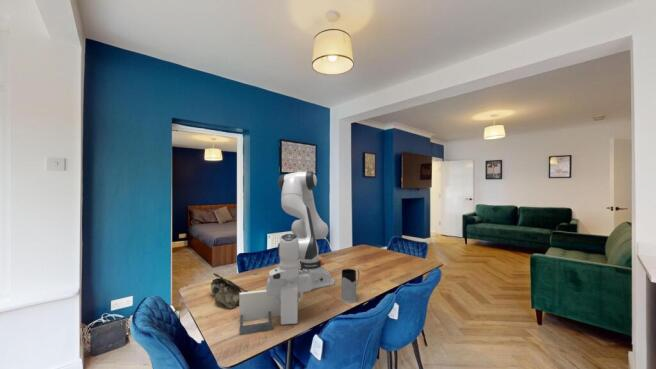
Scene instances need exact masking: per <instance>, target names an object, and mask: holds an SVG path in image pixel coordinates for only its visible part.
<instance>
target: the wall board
mask: <svg viewBox="0 0 656 369" xmlns="http://www.w3.org/2000/svg"><path fill="white" fill-rule="evenodd" d="M241 292H242V293H239V303H238V305H239V306H238V307H239V309H238V311H239V312H238V314H239V316H238V317H239V319H238V320H239V323H240V316H241V315H243V322H247V321H248V322H249V321H253V320H260V319H261V320H262V319H268V312H269V311H271V316H272V318H276V317H281V304H280V305H278V300H277V299H276V296H275V295H274V296H268V295H267V294H266V289H262V290H254V291H253V290H252V291H248V292H244V291H241ZM297 294H298V295H299V292H298V293H297ZM278 298H279V299H281V295H279V297H278Z"/></svg>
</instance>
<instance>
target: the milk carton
mask: <svg viewBox="0 0 656 369" xmlns="http://www.w3.org/2000/svg"><path fill="white" fill-rule="evenodd" d="M298 295H299V293H298V294H297V282H294V283H291V282H287V284H286V286H283V287H281V316H280V325H295V324H298V318H299V317H298V315H299V314H298V308H299V307H298V306H299V305H298V304H299V302H297V297H299V296H298Z"/></svg>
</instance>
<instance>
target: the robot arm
mask: <svg viewBox="0 0 656 369" xmlns="http://www.w3.org/2000/svg"><path fill="white" fill-rule="evenodd" d="M317 182H318V179H317V176H316V173H315V172H313V171H311V170H310V171H309V170H307V171H295V172H291V173H287V174H286V173H285V174H281V175H280V176H279V177H278V180H277V185H278V188H279V191H281V196H280V197H281V198H280V200H281V201H280V202H281V203H280V204H281V208H282V210H283V211H284V212H285V213H286V214H288V215H290V216H293V217H295V218H298V219H295V220H294V221H293V222H292V224H291V233H286V234H282V236H281V237H280V240H279V243H278V244H277V256H278V257H279V265H278V267H275V268H273V269H271V270H269V272H268V278H267V279H266V287H265V290H266V294H267V295H268V296H274V295H275V296H276V299H277V300H278V305H280V304H281V299H279V298H278V297H279V295H281V287H283V286H286V284H287V282H291V283H294V282H297V293H298V295H299V296H298V297H297V302H298V303H300V302H302V297H303V295H304V292H306V293H307V292H311V290H315V289H319V288H325V287H330V286H334V285H335V280H334V279H333V278H332V277H331V272H330V271H329V270H328V269H327V268H325V267H323V266H324V265H325V264H324V261H321V260H320V259H319V247H318V246H319V245H318V243H317V240H321V239H322V240H323V239H325V238H326V237H327V236H328V234H329V226H328V224H327V222H325V221H323V220H322V218H321V217H320V215H319V213H318V212H317V208H316V204H315V198H314V192H313V189H315V188H316V187H317Z"/></svg>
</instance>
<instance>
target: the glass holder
mask: <svg viewBox="0 0 656 369" xmlns="http://www.w3.org/2000/svg"><path fill="white" fill-rule="evenodd" d="M357 274H358V275H357ZM340 278H341V279H340V280H341V286H340V287H341V288H340V289H341V292H340V293H341V295H340V301H341V302H342V303H345V304H353V303H356V302H357V301H358V299H357V286H358V284H359V281H360V270H359V269H356V270H355V269H353V268H352V269H351V268H345V269H342V270H341V277H340Z"/></svg>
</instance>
